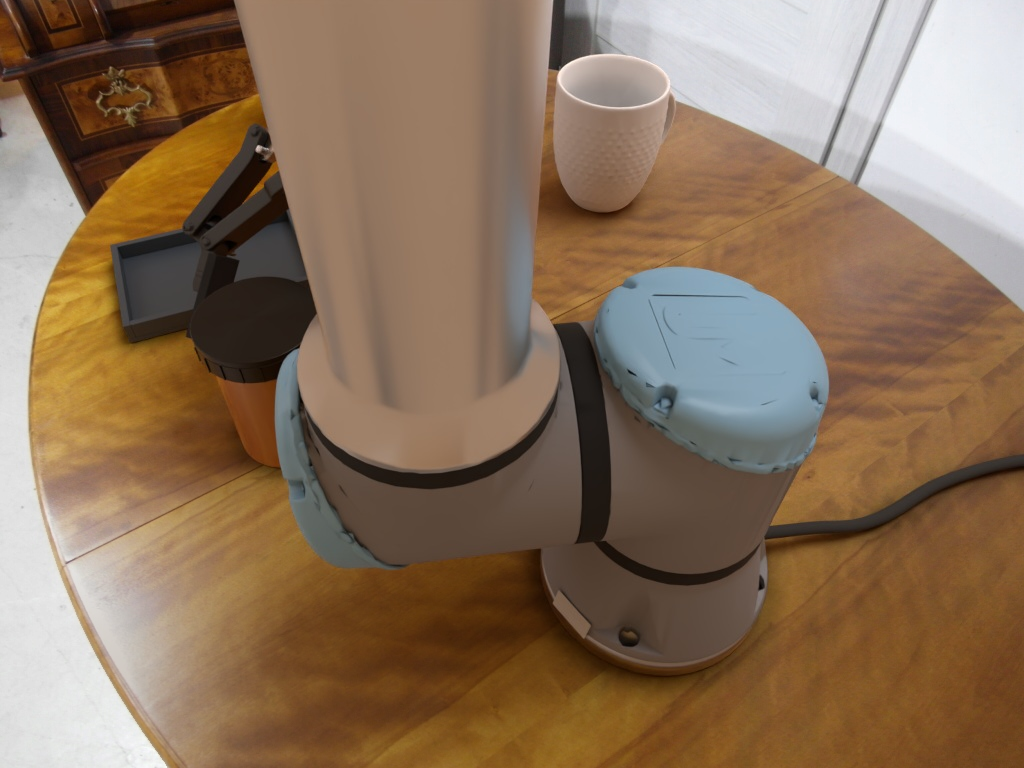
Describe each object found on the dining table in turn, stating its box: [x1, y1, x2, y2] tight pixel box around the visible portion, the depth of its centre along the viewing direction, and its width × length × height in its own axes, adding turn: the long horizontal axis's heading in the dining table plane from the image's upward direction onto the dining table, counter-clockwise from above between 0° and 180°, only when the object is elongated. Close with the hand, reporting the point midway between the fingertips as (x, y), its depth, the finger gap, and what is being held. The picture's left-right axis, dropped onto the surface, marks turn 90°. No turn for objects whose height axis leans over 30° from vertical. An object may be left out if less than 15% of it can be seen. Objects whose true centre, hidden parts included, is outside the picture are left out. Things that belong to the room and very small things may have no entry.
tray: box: [109, 209, 311, 344], centre depth 73 cm, size 17×12×2 cm
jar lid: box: [190, 276, 317, 384], centre depth 53 cm, size 9×9×2 cm
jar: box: [214, 375, 281, 469], centre depth 57 cm, size 8×8×12 cm
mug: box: [552, 53, 677, 213], centre depth 80 cm, size 15×11×13 cm
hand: (275, 367), depth 57 cm, fingers open, 13 cm apart
